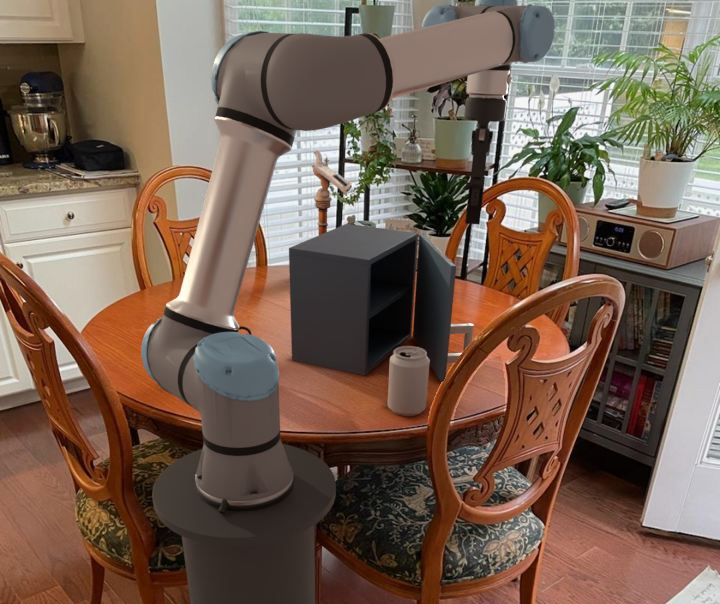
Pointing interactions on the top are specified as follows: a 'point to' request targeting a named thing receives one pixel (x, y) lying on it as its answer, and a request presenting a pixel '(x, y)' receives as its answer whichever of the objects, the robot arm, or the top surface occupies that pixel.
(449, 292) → the cupboard door
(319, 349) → the cupboard
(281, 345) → the top surface
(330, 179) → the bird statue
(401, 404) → the can
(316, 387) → the top surface
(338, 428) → the top surface
